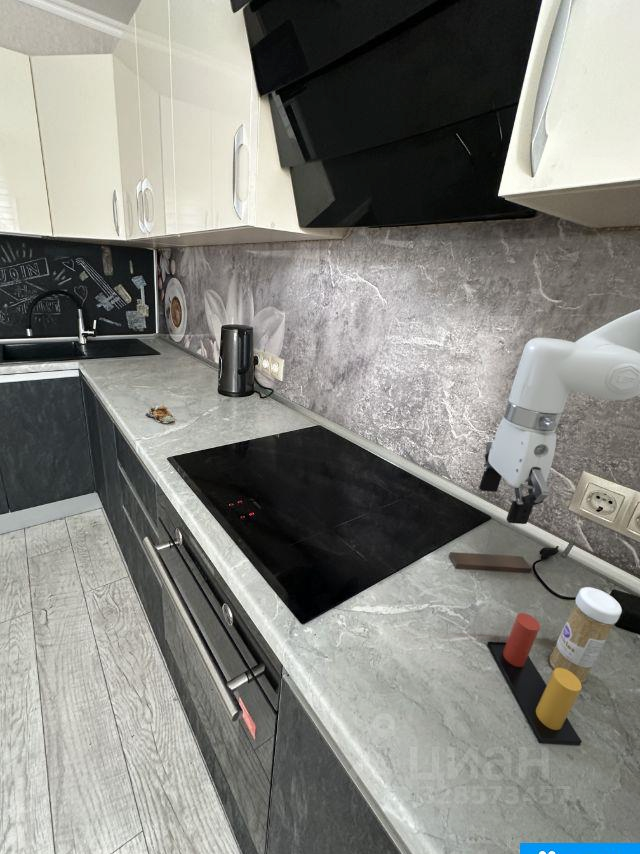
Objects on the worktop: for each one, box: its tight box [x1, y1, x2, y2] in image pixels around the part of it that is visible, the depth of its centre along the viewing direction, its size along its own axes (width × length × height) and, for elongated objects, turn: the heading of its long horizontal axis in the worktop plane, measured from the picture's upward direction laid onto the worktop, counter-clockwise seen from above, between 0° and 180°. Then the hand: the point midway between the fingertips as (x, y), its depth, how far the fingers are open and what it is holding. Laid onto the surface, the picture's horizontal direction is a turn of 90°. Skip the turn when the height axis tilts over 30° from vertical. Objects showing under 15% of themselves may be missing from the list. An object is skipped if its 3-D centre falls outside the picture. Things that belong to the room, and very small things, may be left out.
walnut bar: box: [448, 551, 533, 574], centre depth 73 cm, size 14×3×3 cm, turn 89°
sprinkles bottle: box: [548, 586, 623, 684], centre depth 53 cm, size 5×5×13 cm
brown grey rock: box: [145, 405, 176, 424], centre depth 133 cm, size 7×12×4 cm, turn 49°
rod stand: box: [486, 612, 583, 746], centre depth 51 cm, size 5×13×8 cm, turn 179°
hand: (500, 505), depth 69 cm, fingers open, 9 cm apart
